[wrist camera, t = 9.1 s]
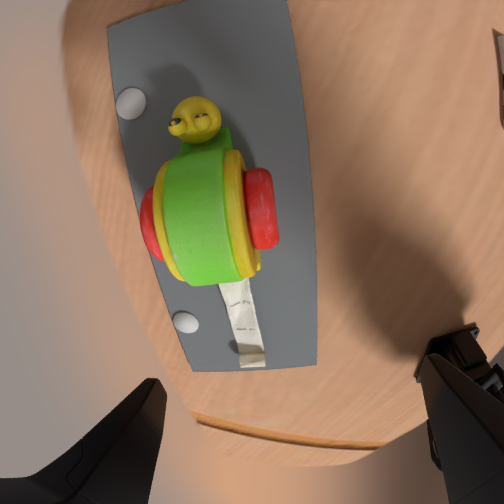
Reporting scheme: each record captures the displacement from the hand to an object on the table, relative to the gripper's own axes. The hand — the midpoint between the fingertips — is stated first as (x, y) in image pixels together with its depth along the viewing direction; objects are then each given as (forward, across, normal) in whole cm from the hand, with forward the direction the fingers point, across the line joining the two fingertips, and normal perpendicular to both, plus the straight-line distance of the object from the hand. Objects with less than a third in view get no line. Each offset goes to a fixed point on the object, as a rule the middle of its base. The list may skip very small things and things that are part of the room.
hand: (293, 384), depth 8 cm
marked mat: (+11, +4, -2) cm, 12 cm away
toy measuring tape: (+11, +3, 0) cm, 12 cm away
